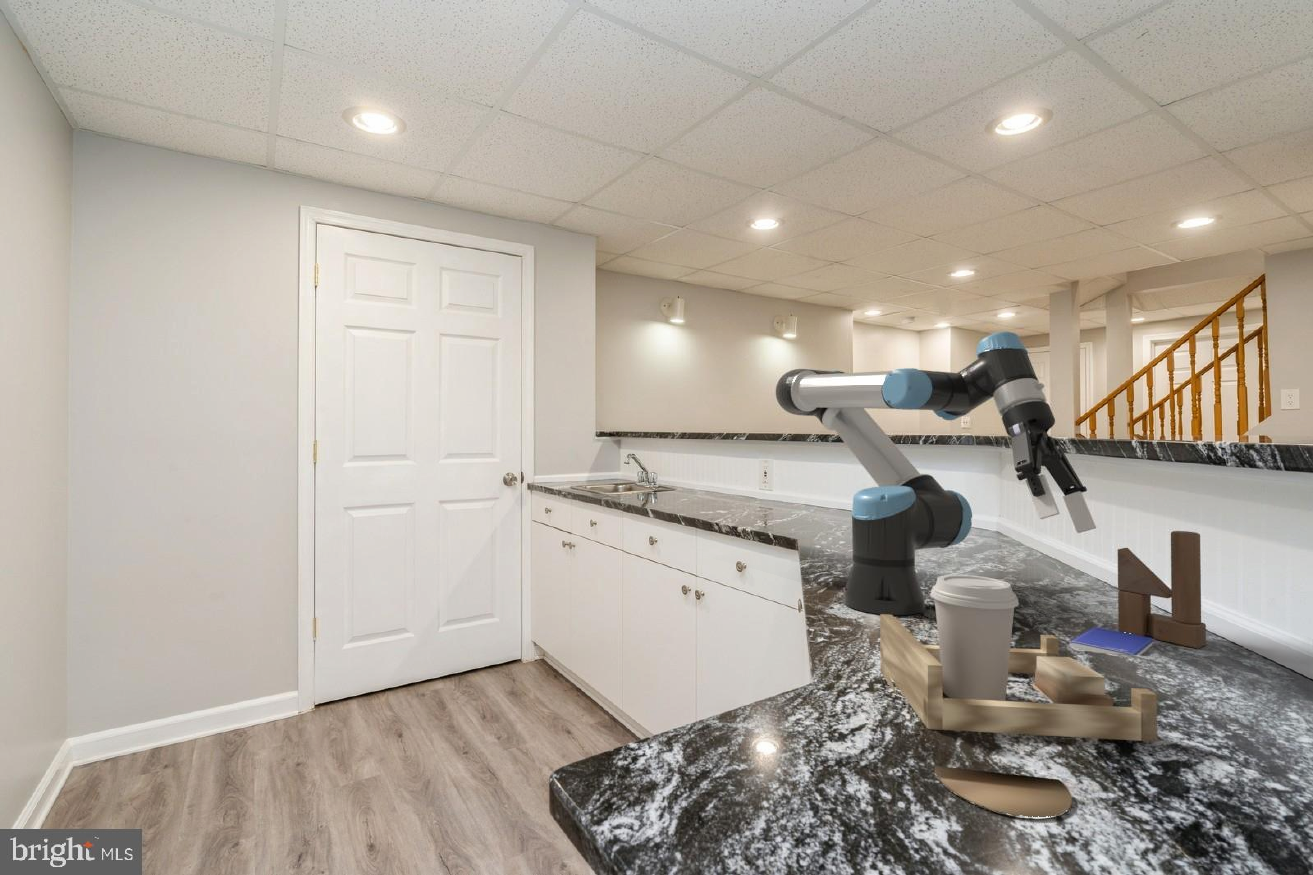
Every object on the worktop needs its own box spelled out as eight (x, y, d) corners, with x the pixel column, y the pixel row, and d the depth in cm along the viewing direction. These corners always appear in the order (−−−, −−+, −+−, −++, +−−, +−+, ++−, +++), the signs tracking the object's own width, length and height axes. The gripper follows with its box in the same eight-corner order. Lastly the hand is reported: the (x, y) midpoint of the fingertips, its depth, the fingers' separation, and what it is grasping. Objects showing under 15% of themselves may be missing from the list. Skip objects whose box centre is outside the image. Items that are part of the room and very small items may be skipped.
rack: (927, 740, 65) (927, 665, 65) (880, 671, 85) (880, 614, 85) (1157, 753, 62) (1156, 675, 62) (1052, 679, 82) (1052, 620, 82)
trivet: (909, 770, 59) (909, 766, 59) (980, 744, 64) (980, 740, 64) (1024, 834, 49) (1024, 829, 49) (1097, 797, 54) (1097, 793, 54)
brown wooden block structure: (1126, 628, 106) (1125, 525, 106) (1206, 646, 97) (1205, 532, 97) (1117, 632, 104) (1116, 526, 104) (1197, 650, 95) (1196, 534, 95)
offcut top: (1068, 693, 69) (1068, 676, 69) (1036, 672, 76) (1036, 656, 76) (1104, 695, 69) (1104, 677, 69) (1070, 673, 75) (1070, 657, 75)
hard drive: (1133, 653, 90) (1154, 637, 98) (1069, 640, 96) (1093, 626, 104) (1133, 664, 90) (1154, 647, 98) (1069, 650, 96) (1093, 635, 104)
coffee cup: (928, 712, 72) (927, 584, 72) (933, 684, 80) (932, 570, 80) (1022, 730, 67) (1021, 594, 67) (1017, 698, 76) (1016, 578, 76)
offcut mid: (1062, 711, 69) (1063, 694, 69) (1034, 684, 77) (1035, 669, 77) (1112, 716, 68) (1113, 698, 68) (1079, 688, 76) (1079, 672, 76)
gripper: (1010, 379, 98) (1058, 501, 88) (1077, 419, 112) (1125, 529, 102) (966, 400, 103) (1007, 517, 93) (1035, 436, 117) (1077, 541, 107)
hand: (1068, 523), depth 97 cm, fingers open, 13 cm apart
